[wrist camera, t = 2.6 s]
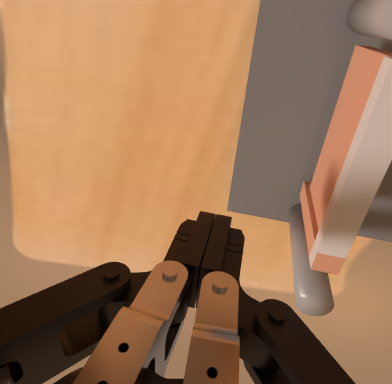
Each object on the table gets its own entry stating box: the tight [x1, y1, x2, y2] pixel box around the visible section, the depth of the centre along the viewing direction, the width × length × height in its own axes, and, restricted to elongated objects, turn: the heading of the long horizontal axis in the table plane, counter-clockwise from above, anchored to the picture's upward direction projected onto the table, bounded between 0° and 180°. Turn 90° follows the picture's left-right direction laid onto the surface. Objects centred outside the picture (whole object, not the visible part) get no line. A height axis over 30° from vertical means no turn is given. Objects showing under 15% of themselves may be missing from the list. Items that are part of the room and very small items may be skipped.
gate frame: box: [227, 0, 392, 316], centre depth 16 cm, size 18×14×10 cm
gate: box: [300, 45, 392, 275], centre depth 16 cm, size 10×1×8 cm, turn 175°
